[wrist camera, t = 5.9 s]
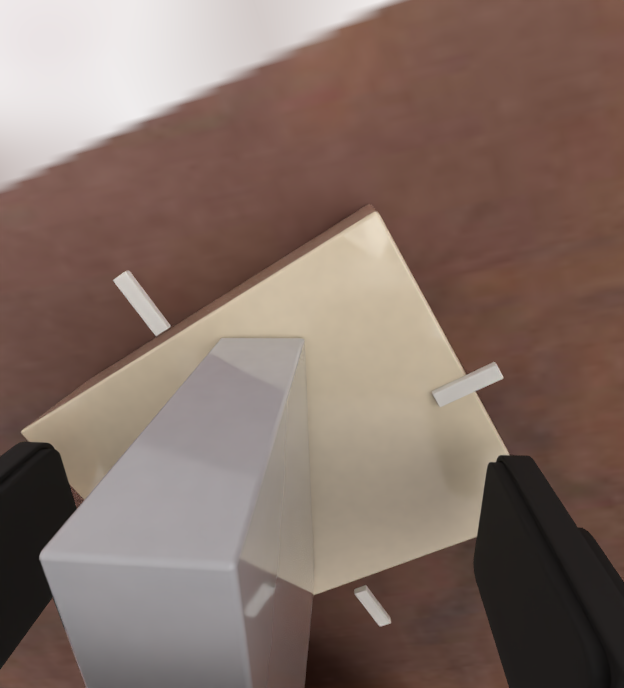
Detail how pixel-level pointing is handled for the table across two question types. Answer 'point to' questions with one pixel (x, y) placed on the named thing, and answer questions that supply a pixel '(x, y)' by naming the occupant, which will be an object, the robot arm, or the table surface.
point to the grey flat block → (199, 536)
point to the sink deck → (322, 400)
